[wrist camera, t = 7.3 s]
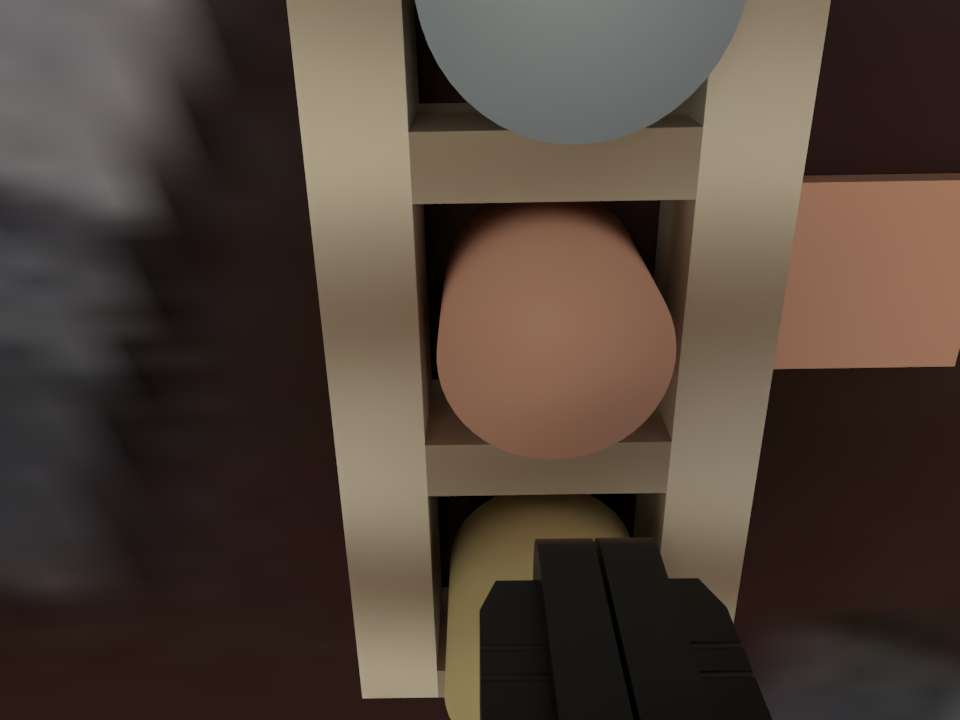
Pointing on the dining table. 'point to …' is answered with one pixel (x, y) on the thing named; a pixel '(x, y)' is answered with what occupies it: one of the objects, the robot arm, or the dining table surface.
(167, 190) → the dining table surface
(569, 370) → the terracotta button
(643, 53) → the slate-grey button
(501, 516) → the ochre button
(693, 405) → the button panel
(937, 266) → the tile
